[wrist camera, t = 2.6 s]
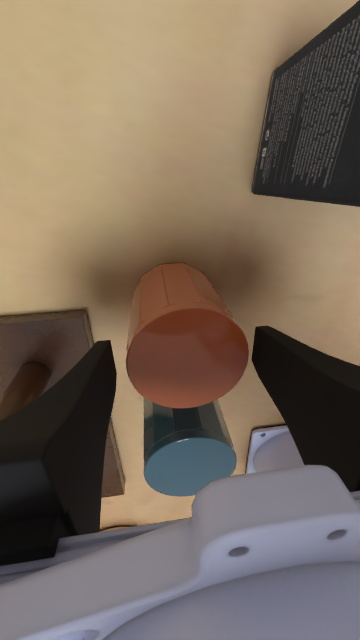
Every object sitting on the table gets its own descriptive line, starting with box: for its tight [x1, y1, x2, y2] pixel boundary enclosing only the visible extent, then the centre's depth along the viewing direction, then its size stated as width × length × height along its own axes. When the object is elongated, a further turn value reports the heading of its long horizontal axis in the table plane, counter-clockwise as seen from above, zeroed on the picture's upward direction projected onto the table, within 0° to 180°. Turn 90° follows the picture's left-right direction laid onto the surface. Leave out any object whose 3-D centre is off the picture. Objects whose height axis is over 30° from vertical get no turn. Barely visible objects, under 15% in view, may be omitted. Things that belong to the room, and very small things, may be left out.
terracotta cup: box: [126, 263, 249, 408], centre depth 15 cm, size 6×6×7 cm
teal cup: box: [144, 397, 236, 496], centre depth 19 cm, size 6×6×7 cm
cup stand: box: [0, 310, 125, 498], centre depth 19 cm, size 8×20×6 cm, turn 2°
